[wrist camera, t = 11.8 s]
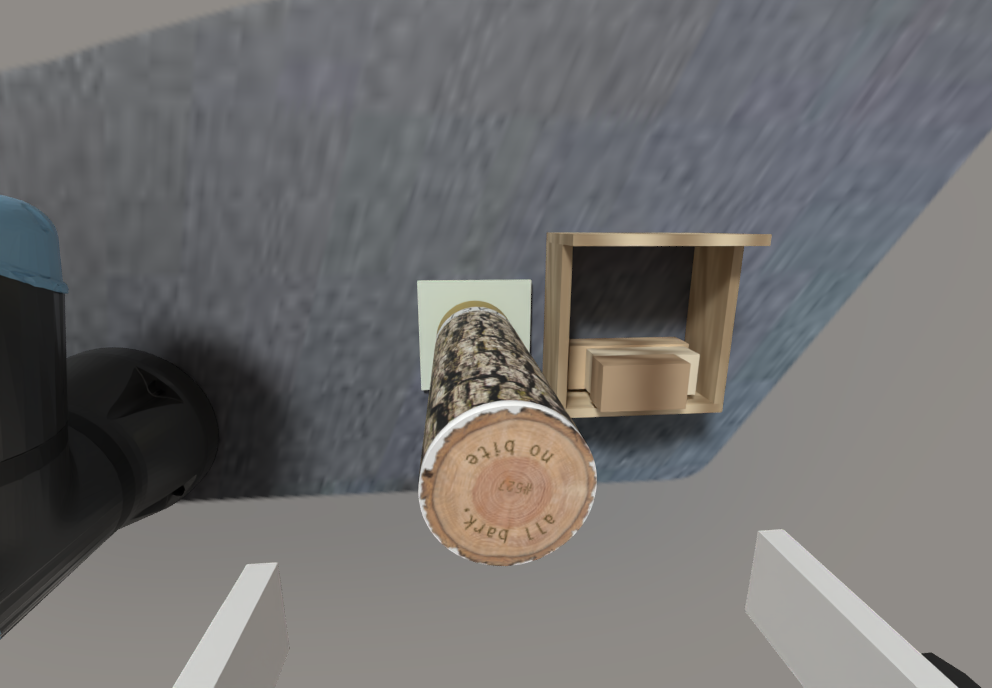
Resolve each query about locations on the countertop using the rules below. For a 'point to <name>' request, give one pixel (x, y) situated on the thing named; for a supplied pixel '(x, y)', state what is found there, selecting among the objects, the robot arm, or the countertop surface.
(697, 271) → the wooden open box
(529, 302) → the felt mat
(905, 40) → the countertop surface
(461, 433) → the wooden log
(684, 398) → the offcut stack
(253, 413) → the countertop surface
